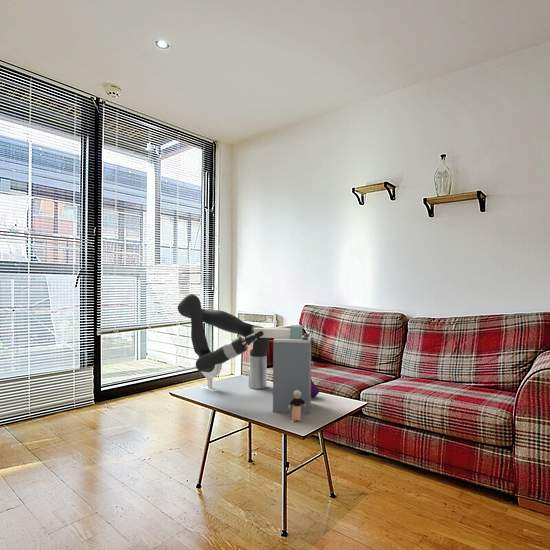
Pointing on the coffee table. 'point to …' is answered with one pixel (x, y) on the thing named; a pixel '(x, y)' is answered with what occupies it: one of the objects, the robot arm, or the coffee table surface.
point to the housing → (291, 372)
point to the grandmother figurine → (296, 406)
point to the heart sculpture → (212, 376)
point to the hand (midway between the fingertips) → (264, 331)
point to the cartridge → (281, 332)
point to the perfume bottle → (313, 388)
